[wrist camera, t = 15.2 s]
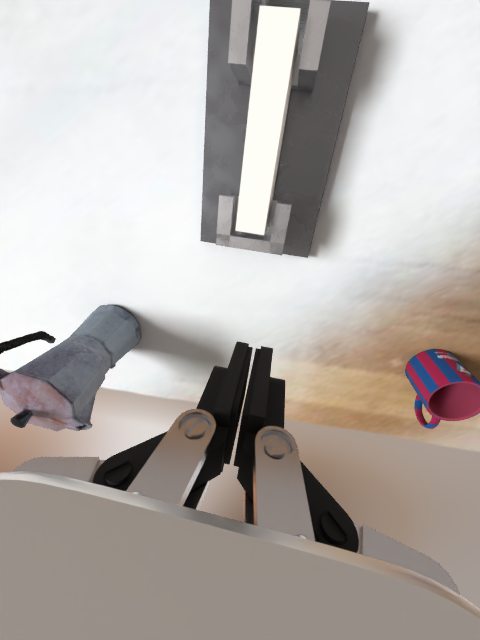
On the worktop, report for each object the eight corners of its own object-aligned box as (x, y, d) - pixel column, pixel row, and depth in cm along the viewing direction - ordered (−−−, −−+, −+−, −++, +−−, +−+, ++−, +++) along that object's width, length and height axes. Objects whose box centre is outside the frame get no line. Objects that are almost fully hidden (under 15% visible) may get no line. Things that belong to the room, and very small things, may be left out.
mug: (468, 357, 36) (503, 391, 30) (424, 405, 41) (447, 442, 35) (422, 342, 36) (448, 373, 30) (384, 392, 41) (400, 426, 35)
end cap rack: (365, 10, 23) (389, -44, 17) (307, 255, 33) (310, 268, 28) (213, 1, 24) (191, -51, 19) (203, 239, 35) (187, 249, 29)
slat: (298, 41, 23) (300, 8, 19) (267, 228, 31) (263, 235, 26) (265, 39, 23) (259, 5, 19) (243, 224, 31) (235, 230, 27)
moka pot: (144, 366, 48) (60, 471, 30) (69, 321, 46) (-68, 405, 28) (164, 331, 43) (79, 431, 26) (81, 280, 41) (-72, 349, 24)
